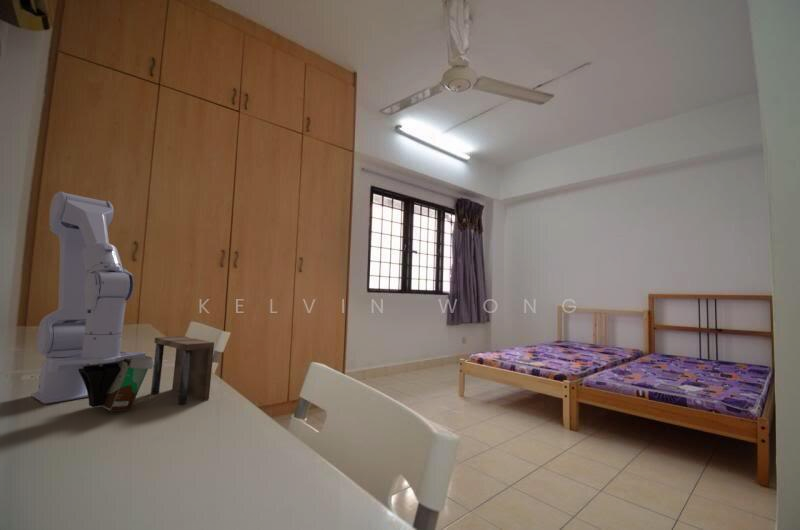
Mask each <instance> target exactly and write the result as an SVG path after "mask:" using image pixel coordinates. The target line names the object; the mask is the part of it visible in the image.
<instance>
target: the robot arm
mask: <svg viewBox="0 0 800 530" xmlns="http://www.w3.org/2000/svg"><path fill="white" fill-rule="evenodd" d="M113 218H114V206H113V204H112V203H111V201H109V200H100V199H96V198H92V197H91V198H90V197H85V196H82V195H81V196H80V195H76V194H72V193H67V192H64V191H58V192H56V193H55V194H54V195H53V197H52V199H51V202H50V207H49V220H48V221H49V226H50V228H49V230H50V232H52V233H54V235H57V236H58V240H59V269H58V270H59V273H58V301H57V302H58V305H57V306H58V307H57V309H56V310H54V311H53V312H51V313H49V314H47V315H45V316H44V317H42V319H41V321H40V322H39V326H38V332H37V334H36V342H35V343H36V349H37V350H36V351H37V352H38V353H39V354H41V355H42V356H44V357H45V359H43V360H42V363H41V366H40V370H39V377H38V378H39V379H38V385H37V391H36V392H35V391H34V392H30V396H32V397H33V398H34V399H36V400H38V401H39V402H41V403H42V404H53V403H59V402H64V401H71V400H76V399H77V400H78V399H83V398H88V405H89V406H90V407H92V408H95V407H102V406H101V404H102V401H103V399H104V396H105V394H106V392H107V390H108V388H109V386H110V384H111V383H112V381H113V380H114V378H115V377H116V375H117V374H118V373H119V371H120V367H118V363H119V362H120V361H121V360H124V359H132V357H142V358H145V356H146V352H143V351H135V352H127V353H120V352H121V346H122V339H123V330H124V329H123V328H124V321H125V312H126V305H127V301H129V300H130V299H131V298H132V295H133V292H134V289H135V288H134V287H135V281H134V276H133V273H131V271H128V269H127V268H126V269H125V268H124V267H123V264H122V261H121V258H120V254H119V251H118V248H117V247H116V246H115V245H113V244H111V243H110V241H109V232H108V227H109V225H110V224H111V223H112V221H113Z"/></svg>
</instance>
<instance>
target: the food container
mask: <svg viewBox="0 0 800 530" xmlns="http://www.w3.org/2000/svg"><path fill="white" fill-rule="evenodd" d="M120 353H128V352H125V351H120ZM118 367H120V371H119V373H118V374H117V375H116V377H115V378H114V380H113V381H112V383H111V384H110V386H109V388H108V390H107V392H106V394H105V396H104V399H103V401H102V404H101V406H100V407H102V408H104V409H106V410H108V411H110V412H111V411H112V412H113V411H114V412H115V411H127V410H130V409H131V408H132V406H133V404H134V401H135V400H136V397H137V395H138V393H139V390H140V388H141V386H142V384H143V381H144V380H145V377H146V375H147V373H148V370H151V369H153V367H154V360H153V357H152V356H148V355H145V358H142V357H132V359H124V360H121V361H120V362H119V363H118Z"/></svg>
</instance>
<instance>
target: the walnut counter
mask: <svg viewBox="0 0 800 530" xmlns="http://www.w3.org/2000/svg"><path fill="white" fill-rule="evenodd" d="M154 344H155V350H154V351H155V352H154V358H153V359H154V360H153V367H152V369H153V370H152V379H151V389H150V395H159V394H160V388H161V379H162V371H163V370H162V368H163V362H164V361H163V359H164V352H165V346H166V347H170V348H175V349H176V350H175V358H174V359H175V360H174V368H173V378H172V388H171V389H172V390H173V391H176V392H178V397H177V398H178V399H177V405H178V406H186V405H187V404H188V403H187V402H188V396H190V397H192V396H193V398H195V397H196V399H198V398H199V399H198V400H201V399H202V400H201V401H204V400H206V401H208V400H207V399H209V400H210V391H211V390H210V389H211V380H212V371H213V370H212V368H213V358H214V349H215V341H214V342H213V341H209V340H203V339H198V338H193V337H188V336H184V335H179V336H178V335H177V336H175V335H174V336H164V337H161V336H160V337H154Z"/></svg>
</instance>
